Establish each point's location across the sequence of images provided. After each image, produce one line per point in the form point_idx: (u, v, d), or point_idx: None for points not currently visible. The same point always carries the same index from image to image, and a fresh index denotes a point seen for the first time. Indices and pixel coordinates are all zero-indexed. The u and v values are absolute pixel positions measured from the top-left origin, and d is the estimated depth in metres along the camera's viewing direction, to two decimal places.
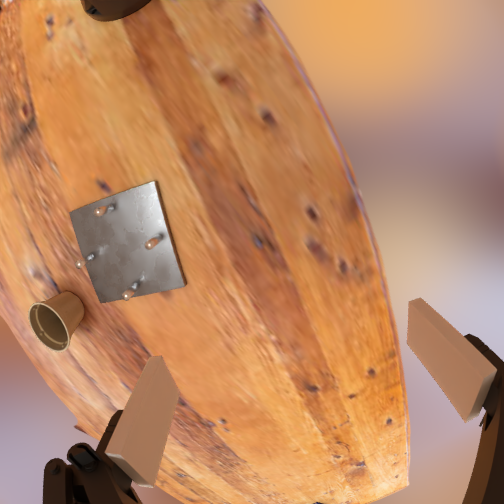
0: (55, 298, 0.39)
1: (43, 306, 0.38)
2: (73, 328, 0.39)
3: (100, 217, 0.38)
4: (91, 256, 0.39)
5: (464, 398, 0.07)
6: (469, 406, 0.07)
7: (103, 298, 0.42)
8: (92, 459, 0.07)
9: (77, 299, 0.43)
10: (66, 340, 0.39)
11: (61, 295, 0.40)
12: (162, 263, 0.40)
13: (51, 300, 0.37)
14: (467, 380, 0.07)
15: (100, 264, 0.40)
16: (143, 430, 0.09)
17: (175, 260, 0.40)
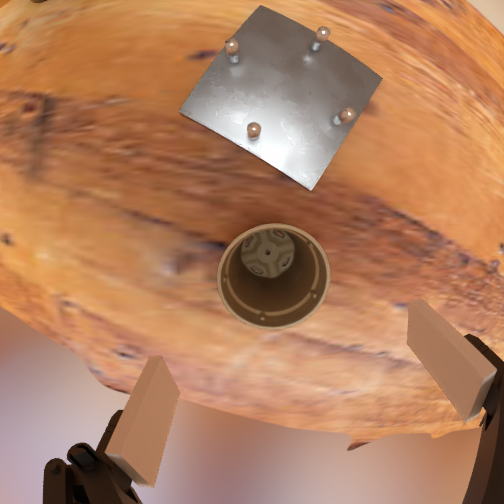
0: None
1: (232, 273, 0.27)
2: (309, 251, 0.25)
3: (229, 76, 0.25)
4: None
5: (464, 398, 0.07)
6: (469, 406, 0.07)
7: (310, 178, 0.28)
8: (92, 459, 0.07)
9: None
10: (311, 284, 0.26)
11: None
12: (343, 68, 0.24)
13: None
14: (467, 380, 0.07)
15: (274, 130, 0.26)
16: (143, 430, 0.09)
17: (351, 56, 0.24)
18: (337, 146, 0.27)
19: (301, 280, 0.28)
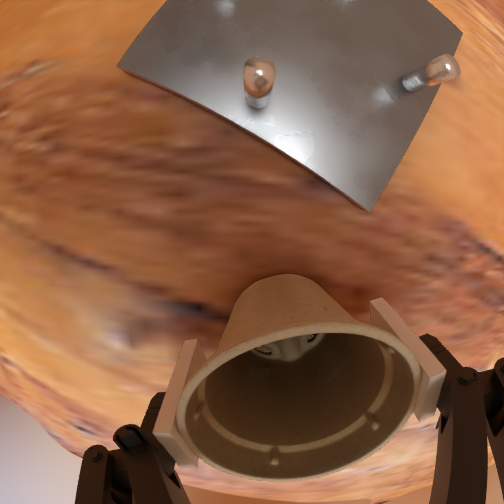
0: (240, 317, 0.12)
1: (216, 383, 0.12)
2: (372, 344, 0.11)
3: (211, 1, 0.11)
4: None
5: None
6: (421, 404, 0.08)
7: (369, 187, 0.14)
8: (140, 442, 0.08)
9: (293, 276, 0.15)
10: (368, 401, 0.11)
11: (246, 301, 0.14)
12: (407, 6, 0.10)
13: (236, 329, 0.11)
14: None
15: (299, 91, 0.12)
16: None
17: None
18: (413, 129, 0.13)
19: (345, 382, 0.13)
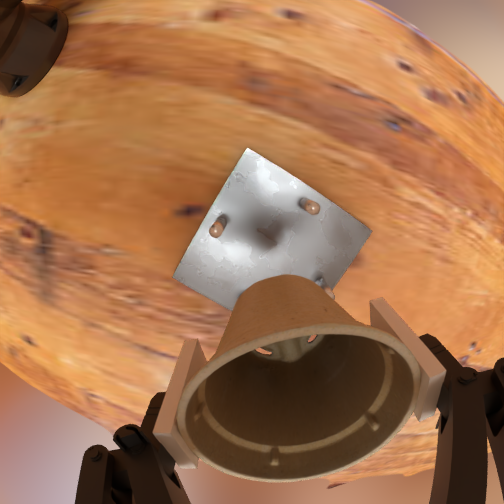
0: (241, 318, 0.12)
1: (217, 384, 0.12)
2: (372, 345, 0.11)
3: (217, 245, 0.30)
4: None
5: None
6: (421, 405, 0.08)
7: None
8: (140, 442, 0.08)
9: (294, 277, 0.15)
10: (368, 402, 0.11)
11: (246, 301, 0.14)
12: (331, 227, 0.29)
13: (236, 330, 0.11)
14: None
15: None
16: None
17: (342, 211, 0.29)
18: None
19: (345, 383, 0.13)
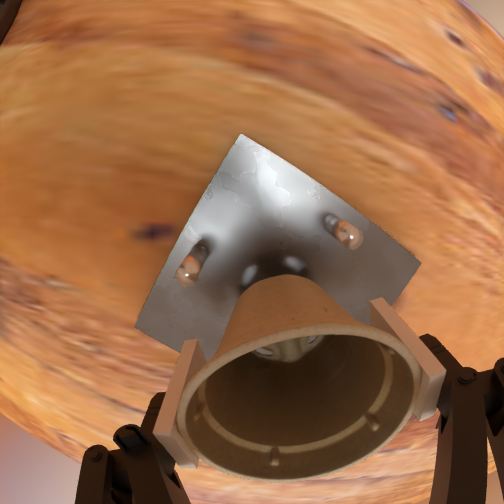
0: (241, 318, 0.12)
1: (217, 384, 0.12)
2: (372, 345, 0.11)
3: (194, 285, 0.19)
4: None
5: None
6: (420, 405, 0.08)
7: None
8: (140, 442, 0.08)
9: (294, 277, 0.15)
10: (368, 402, 0.11)
11: (246, 302, 0.14)
12: (368, 259, 0.19)
13: (236, 330, 0.11)
14: None
15: None
16: None
17: (385, 234, 0.18)
18: None
19: (345, 383, 0.13)
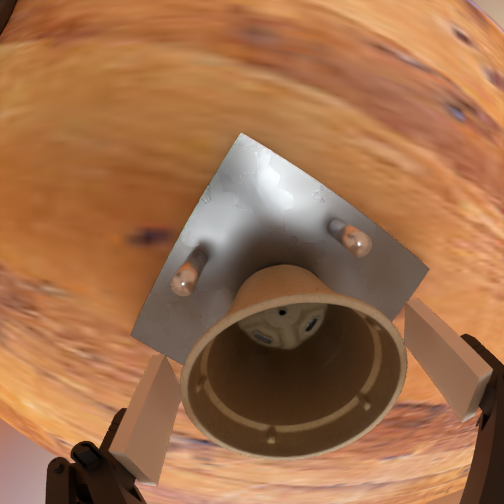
0: (241, 298, 0.13)
1: (218, 362, 0.14)
2: (362, 326, 0.12)
3: (192, 293, 0.18)
4: None
5: (460, 398, 0.07)
6: (465, 405, 0.07)
7: None
8: (96, 457, 0.07)
9: (292, 266, 0.17)
10: (360, 382, 0.12)
11: (247, 286, 0.15)
12: (375, 266, 0.18)
13: (237, 307, 0.12)
14: (463, 380, 0.07)
15: None
16: (147, 428, 0.09)
17: (392, 240, 0.17)
18: None
19: (340, 366, 0.14)
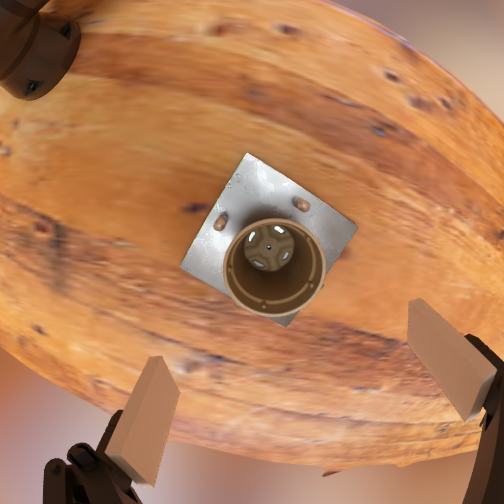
0: None
1: (236, 265, 0.29)
2: (306, 245, 0.28)
3: (219, 238, 0.33)
4: None
5: (464, 398, 0.07)
6: (469, 406, 0.07)
7: (286, 319, 0.36)
8: (92, 459, 0.07)
9: None
10: (308, 275, 0.28)
11: None
12: (321, 223, 0.33)
13: None
14: (467, 380, 0.07)
15: None
16: (143, 430, 0.09)
17: (331, 208, 0.32)
18: None
19: (299, 272, 0.30)
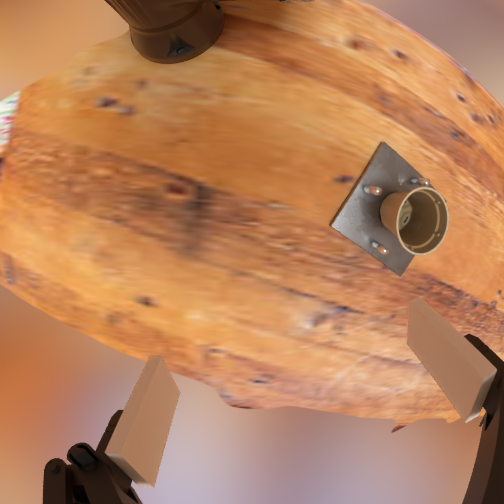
0: (398, 196, 0.36)
1: (391, 220, 0.36)
2: (431, 208, 0.35)
3: (364, 203, 0.40)
4: (377, 241, 0.41)
5: (464, 398, 0.07)
6: (469, 406, 0.07)
7: (401, 269, 0.43)
8: (92, 459, 0.07)
9: None
10: (433, 228, 0.35)
11: (393, 196, 0.37)
12: None
13: (401, 197, 0.34)
14: (467, 380, 0.07)
15: (386, 242, 0.42)
16: (143, 430, 0.09)
17: (432, 187, 0.39)
18: None
19: (423, 228, 0.37)
